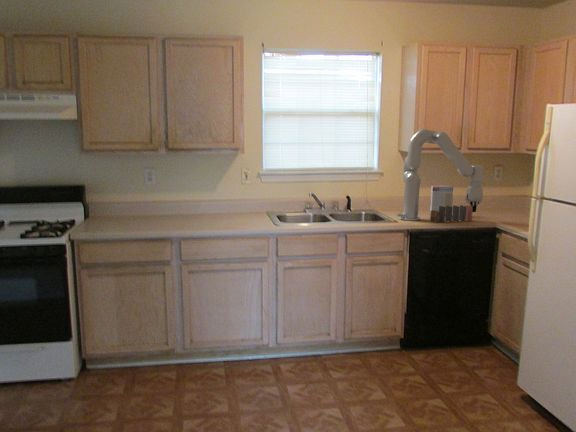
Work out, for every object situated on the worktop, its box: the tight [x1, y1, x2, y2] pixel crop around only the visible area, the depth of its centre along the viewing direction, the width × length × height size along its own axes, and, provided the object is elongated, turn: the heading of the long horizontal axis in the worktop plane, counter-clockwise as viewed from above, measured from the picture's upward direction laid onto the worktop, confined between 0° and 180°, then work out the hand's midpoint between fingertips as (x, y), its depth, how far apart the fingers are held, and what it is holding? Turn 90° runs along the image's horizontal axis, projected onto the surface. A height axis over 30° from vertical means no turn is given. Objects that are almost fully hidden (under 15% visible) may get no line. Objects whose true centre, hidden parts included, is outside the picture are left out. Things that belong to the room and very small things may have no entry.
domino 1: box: [439, 206, 446, 223], centre depth 333 cm, size 2×5×10 cm, turn 14°
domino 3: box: [452, 205, 460, 223], centre depth 335 cm, size 2×5×10 cm, turn 13°
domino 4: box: [459, 204, 466, 222], centre depth 336 cm, size 2×5×10 cm, turn 13°
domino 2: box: [445, 206, 453, 223], centre depth 334 cm, size 2×5×10 cm, turn 13°
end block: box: [429, 210, 440, 224], centre depth 332 cm, size 2×7×7 cm, turn 14°
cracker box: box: [429, 184, 454, 217], centre depth 355 cm, size 14×6×21 cm, turn 84°
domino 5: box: [465, 204, 473, 222], centre depth 337 cm, size 2×5×10 cm, turn 14°
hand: (473, 211), depth 338 cm, fingers closed
